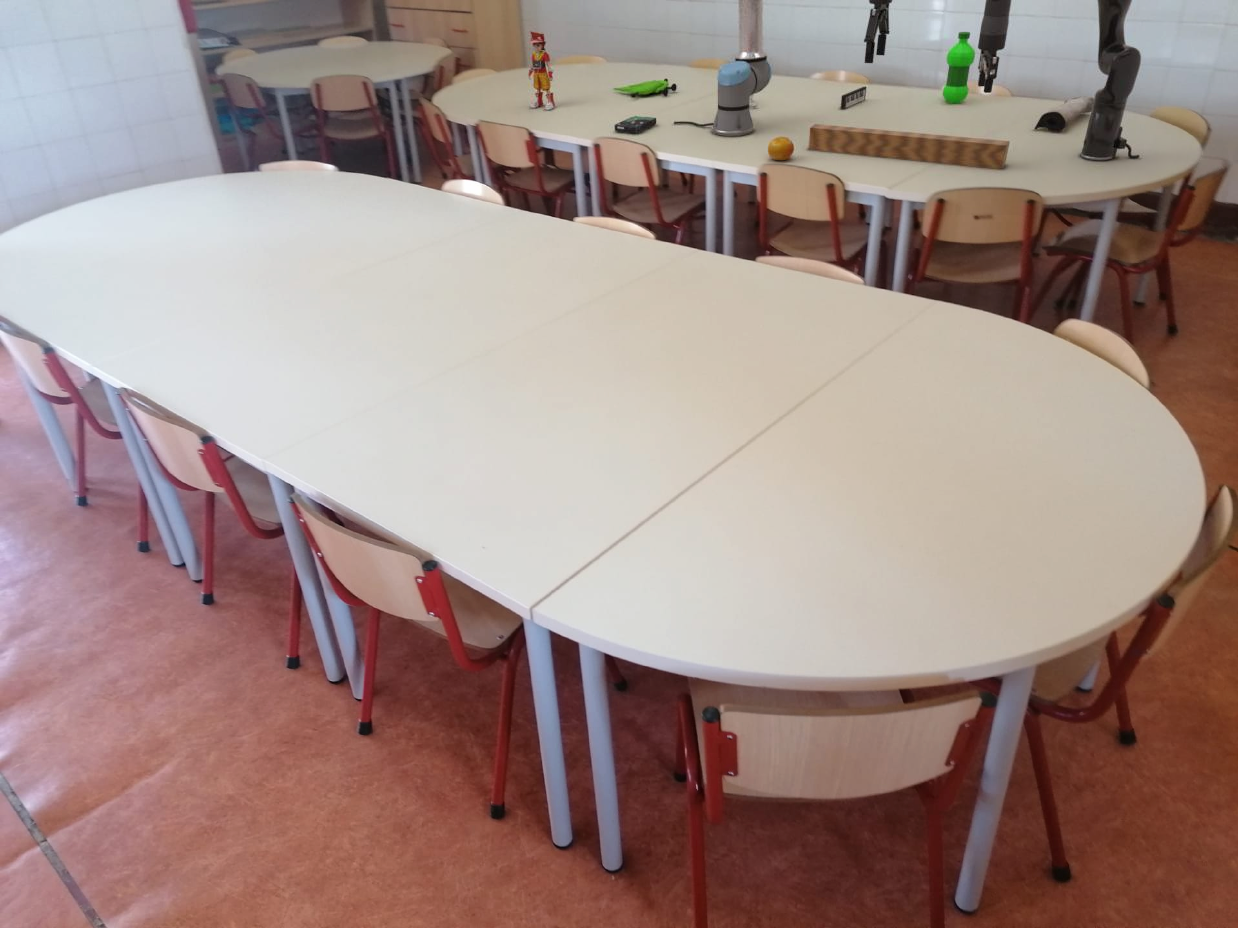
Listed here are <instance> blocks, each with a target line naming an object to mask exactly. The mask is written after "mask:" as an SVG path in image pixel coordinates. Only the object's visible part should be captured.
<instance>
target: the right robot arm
mask: <svg viewBox="0 0 1238 928" xmlns="http://www.w3.org/2000/svg"><path fill="white" fill-rule="evenodd" d="M1132 2H1133V0H1097V8H1098V13H1097V14H1098V33H1099V34H1098V52H1097V67H1098V69H1099V71H1100V72H1101V73H1102V74H1103V75H1106V76H1107V79H1106V83H1105V85H1104V87H1103V88H1102V87H1101V88H1099V89H1097V90H1096V92H1095V94H1094V97H1093V99H1094V102H1093V106H1092V111H1091V112H1090V114H1089V115H1090V116H1089V120H1088V123H1087V129H1086V131H1085V136H1084V139H1083V140H1082V141H1083V143H1082V148H1081V152H1080V157H1081V158H1083V159H1086V160H1090V161H1109V160H1112V159H1115V158H1116V156H1117V152H1118V150H1125V149H1126V148H1127V156H1128V158H1129V159H1139V158H1140V154H1135V155H1132V147H1131V146H1130V145H1129V144H1128V143H1127V141H1128V140H1127V139H1126V138H1125V137H1122V133H1123V129H1124V128H1123V126H1121V125H1122V121H1123V117H1124V114H1125V111H1126V106H1127V103H1128V98H1129V96H1130V95H1131V93H1132V92H1133V90H1134V87H1135V84H1136V80H1137V77H1138V74H1139V71H1140V68H1141V63H1142V54H1141V51H1140V50H1139V49H1138V48H1137V47H1134V46H1131V45H1128V44H1126V39H1125V22H1126V18H1127V15H1128V13H1129V10H1130V9H1131V5H1132ZM1011 6H1012V0H985V3H984V10H983V16H982V19H981V24H980V29H979V30H980V31H979V37H978V44H977V48H978V50H980V54H979V61H978V65H977V70H978V74H979V77H978V80H977V87H983V93H984V94H991V93H992V90H993V86H994V80H995V79H997V75H998V70H999V62H1000V56H998V55H997V52H998V51H1002V50H1004V49H1005V47H1006V41H1007V35H1008V31H1009V30H1008V29H1009V23H1010V13H1011Z"/></svg>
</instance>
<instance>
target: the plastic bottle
mask: <svg viewBox="0 0 1238 928" xmlns="http://www.w3.org/2000/svg"><path fill="white" fill-rule="evenodd" d="M970 36H971V32H970V31H959V32H958V36H957V39H958V42H957V43H956V44H954V45H953V46H952V47H951V48H950V49H949V50H948V52H947V54H946V63H947V64H948V69H947V70H948V71H947V76H946V77H947V78H946V84H945V85H944V87H943V90H942V97H943V99H944V100H945V101H946V102H947V103H948V104H960V103H961V102H963V101H964V100H966V98H967V96H968V95H969V85H968V79H969V73H970V67H971V65H972V64H973V63H974V61H975V57H976V51H975V49H974V47H972V45H971V44H970V43H969V42H968V41H969V39H970V38H971V37H970Z"/></svg>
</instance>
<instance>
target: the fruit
mask: <svg viewBox="0 0 1238 928" xmlns="http://www.w3.org/2000/svg"><path fill="white" fill-rule="evenodd" d="M794 152H795V145H794V143H793V141H792V140H791V139H790V138H789V137H786V136H779V137H775V138H773V139H772V140H771V141H769V143H768V146H767V153H768V155H769V157H770V158H771V159H773V160H775V161H784V160H788V159H789V158H791V156H792V155H793V154H794Z"/></svg>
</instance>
